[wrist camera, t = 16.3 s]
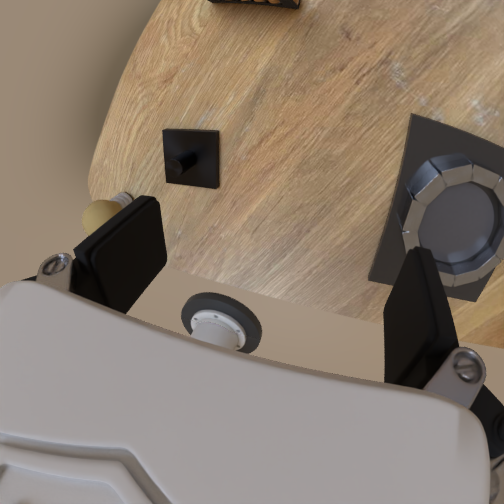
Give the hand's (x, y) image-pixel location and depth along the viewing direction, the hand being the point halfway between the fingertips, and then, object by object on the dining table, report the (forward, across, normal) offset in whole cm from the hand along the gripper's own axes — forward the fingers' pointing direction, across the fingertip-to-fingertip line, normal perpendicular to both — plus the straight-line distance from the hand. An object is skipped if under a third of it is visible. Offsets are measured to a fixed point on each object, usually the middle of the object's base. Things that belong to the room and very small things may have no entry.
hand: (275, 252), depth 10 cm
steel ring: (+25, -20, +8) cm, 33 cm away
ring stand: (+26, +17, +6) cm, 32 cm away
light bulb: (+26, +30, +15) cm, 43 cm away
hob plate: (+26, -20, +8) cm, 34 cm away
